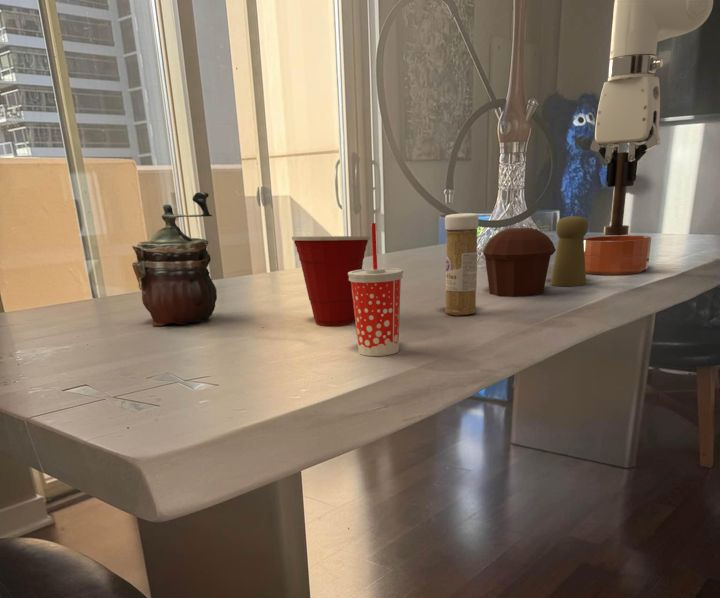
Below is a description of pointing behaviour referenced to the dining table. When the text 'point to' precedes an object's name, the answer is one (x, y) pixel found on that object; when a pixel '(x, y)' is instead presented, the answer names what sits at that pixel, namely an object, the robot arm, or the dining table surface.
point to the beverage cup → (376, 306)
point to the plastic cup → (331, 275)
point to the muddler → (618, 200)
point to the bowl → (616, 254)
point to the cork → (570, 252)
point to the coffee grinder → (176, 272)
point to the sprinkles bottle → (461, 263)
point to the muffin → (518, 262)
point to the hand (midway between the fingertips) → (620, 185)
